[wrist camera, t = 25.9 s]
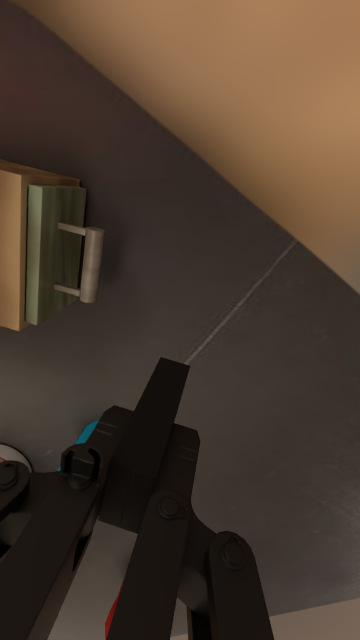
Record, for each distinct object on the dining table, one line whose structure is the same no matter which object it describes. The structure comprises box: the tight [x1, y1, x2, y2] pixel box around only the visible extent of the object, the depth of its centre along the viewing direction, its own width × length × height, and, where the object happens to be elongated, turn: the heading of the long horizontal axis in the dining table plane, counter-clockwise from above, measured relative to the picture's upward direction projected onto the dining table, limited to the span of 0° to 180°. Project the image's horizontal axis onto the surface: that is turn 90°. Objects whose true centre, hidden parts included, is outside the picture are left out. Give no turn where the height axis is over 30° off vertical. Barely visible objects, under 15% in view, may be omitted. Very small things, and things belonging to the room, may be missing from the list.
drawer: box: [25, 184, 105, 325], centre depth 31 cm, size 20×12×8 cm, turn 77°
